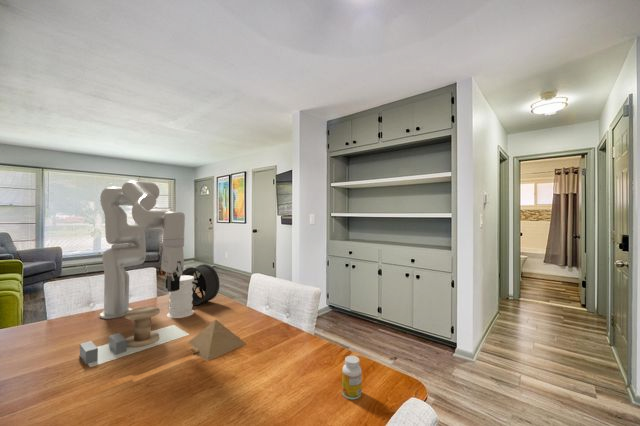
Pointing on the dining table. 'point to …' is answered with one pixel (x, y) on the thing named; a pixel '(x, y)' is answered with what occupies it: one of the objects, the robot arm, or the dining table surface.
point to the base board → (164, 336)
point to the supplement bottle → (351, 378)
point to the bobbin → (142, 326)
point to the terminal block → (91, 351)
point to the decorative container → (182, 299)
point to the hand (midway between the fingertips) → (172, 288)
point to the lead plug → (169, 282)
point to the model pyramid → (214, 341)
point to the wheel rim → (203, 283)
